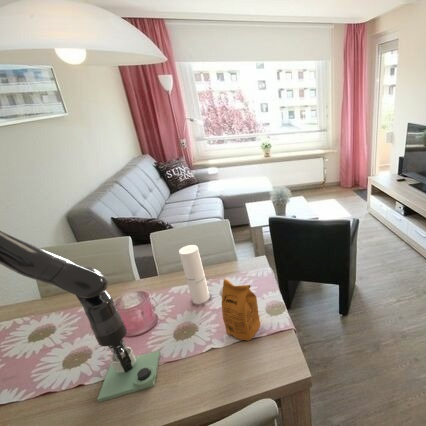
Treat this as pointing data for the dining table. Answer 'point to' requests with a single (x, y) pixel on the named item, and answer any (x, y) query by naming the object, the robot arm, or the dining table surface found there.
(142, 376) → the button
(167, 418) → the dining table surface
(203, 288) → the cylindrical container
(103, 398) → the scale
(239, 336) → the coffee package
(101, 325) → the robot arm
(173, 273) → the dining table surface
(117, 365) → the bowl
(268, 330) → the dining table surface
